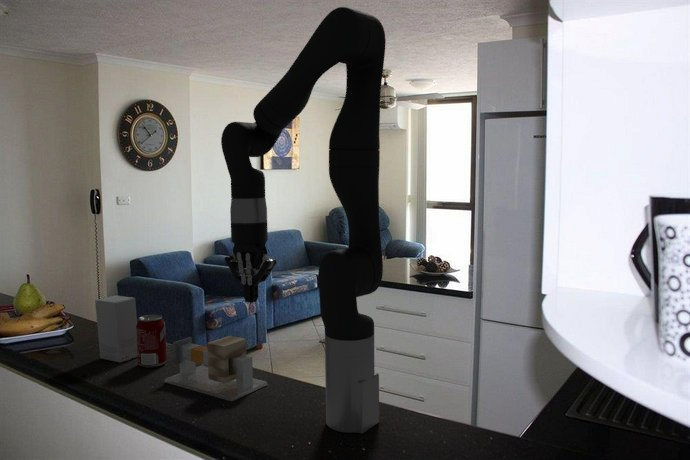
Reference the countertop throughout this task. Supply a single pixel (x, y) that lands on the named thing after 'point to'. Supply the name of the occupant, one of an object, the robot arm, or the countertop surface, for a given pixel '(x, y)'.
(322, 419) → the countertop surface
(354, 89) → the robot arm
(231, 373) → the tan notched block
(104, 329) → the skincare box
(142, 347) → the soda can
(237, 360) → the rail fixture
